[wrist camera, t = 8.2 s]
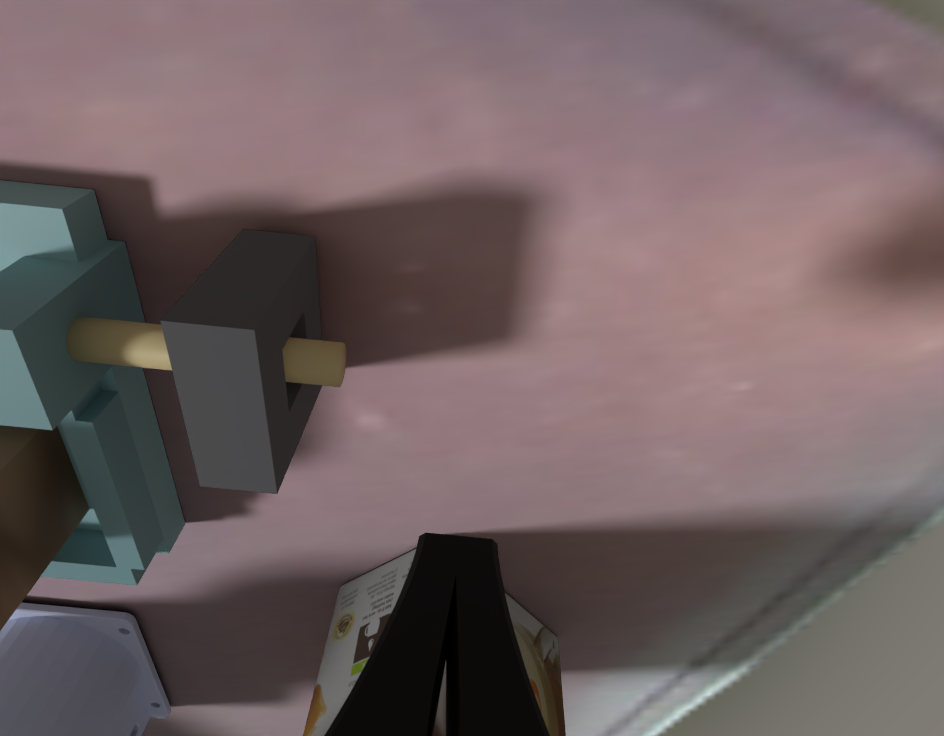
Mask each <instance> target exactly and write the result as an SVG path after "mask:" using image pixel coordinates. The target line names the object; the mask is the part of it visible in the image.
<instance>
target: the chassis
mask: <svg viewBox="0 0 944 736" xmlns="http://www.w3.org/2000/svg"><path fill="white" fill-rule="evenodd" d="M282 352H283V362H284V371H285V380H286V382H293V383H304V384H314V385H324V386H334V387H340V386H341V384H342V382H343V378H344V374H345V367H346V346H345V343H342V342H332V341H322V340H312V339H302V338H292V337H289V339H288V340H287V342H286V344H285V346H284V348H283V349H282ZM143 368H152V369H162V370H172V368H171V364H170V360H169V355H168V351H167V347H166V343H165V339H164V335H163V330H162V326H161V324H151V323H145V319H144V315H143V311H142V307H141V303H140V299H139V295H138V291H137V287H136V284H135V280H134V276H133V272H132V268H131V264H130V260H129V256H128V252H127V248H126V245H125V241H115V240H108V239H107V235H106V232H105V228H104V224H103V221H102V217H101V214H100V210H99V206H98V203H97V199H96V195H95V192H94V190H92V189H82V188H72V187H63V186H53V185H43V184H33V183H23V182H13V181H3V180H0V425H4V426H14V427H25V428H35V429H45V430H53V429H54V428H55V427H56V426H57V427H58V429H59V432H60V434H61V437H62V439H63V442H64V445H65V447H66V450H67V452H68V455H69V457H70V460H71V462H72V465H73V468H74V470H75V473H76V475H77V478H78V480H79V483H80V486H81V488H82V491H83V493H84V496H85V498H86V501H87V504H88V506H89V511H88V512H87V513H86V515H85V516H84V518H83V519H82V520H81V522H80V523H79V524H78V526H77V527H76V528H75V530H74V531H73V533H72V534H71V535H70V537H69V538H68V539H67V541H66V542H65V543H64V545H63V546H62V548H61V549H60V550H59V552H58V553H57V554H56V556H55V557H54V558H53V560H52V561H51V563H50V564H49V565H48V567H47V568H46V569H45V571H44V572H43V574H42V575H41V577H52V578H62V579H73V580H83V581H94V582H104V583H115V584H125V585H136V586H137V585H138V583H139V581H140V579H141V578H142V576H143V574H144V572H145V571H146V569H147V567H148V565H149V564H150V562H151V560H152V558H153V557H154V555H155V553H166V554H169V552H170V551H171V549H172V547H173V545H174V543H175V541H176V540H177V538H178V536H179V534H180V532H181V531H182V529H183V527H184V525H185V521H184V517H183V514H182V510H181V506H180V503H179V499H178V495H177V492H176V488H175V484H174V481H173V477H172V473H171V470H170V466H169V462H168V459H167V455H166V451H165V448H164V444H163V440H162V437H161V433H160V429H159V426H158V422H157V419H156V415H155V411H154V408H153V404H152V400H151V397H150V393H149V389H148V386H147V382H146V378H145V375H144V371H143Z"/></svg>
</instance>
